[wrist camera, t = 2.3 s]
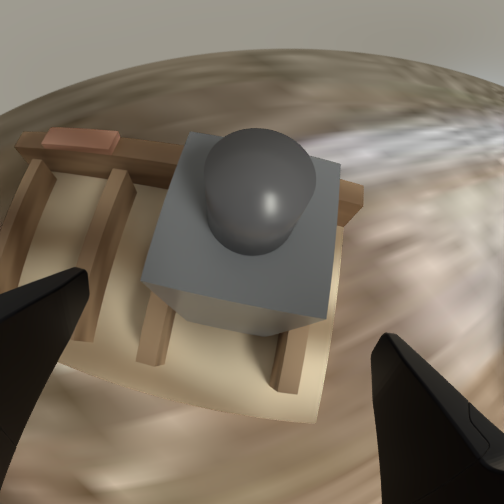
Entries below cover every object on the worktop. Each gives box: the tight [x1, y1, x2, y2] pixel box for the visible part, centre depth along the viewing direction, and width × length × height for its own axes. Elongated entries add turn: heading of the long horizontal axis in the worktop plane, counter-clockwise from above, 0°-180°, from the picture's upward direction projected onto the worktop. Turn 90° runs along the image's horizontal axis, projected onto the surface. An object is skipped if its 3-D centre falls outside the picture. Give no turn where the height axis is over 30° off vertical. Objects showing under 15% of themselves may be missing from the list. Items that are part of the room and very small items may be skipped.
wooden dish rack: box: [0, 127, 364, 424], centre depth 16 cm, size 14×24×5 cm, turn 79°
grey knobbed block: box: [140, 128, 341, 337], centre depth 12 cm, size 4×4×12 cm
